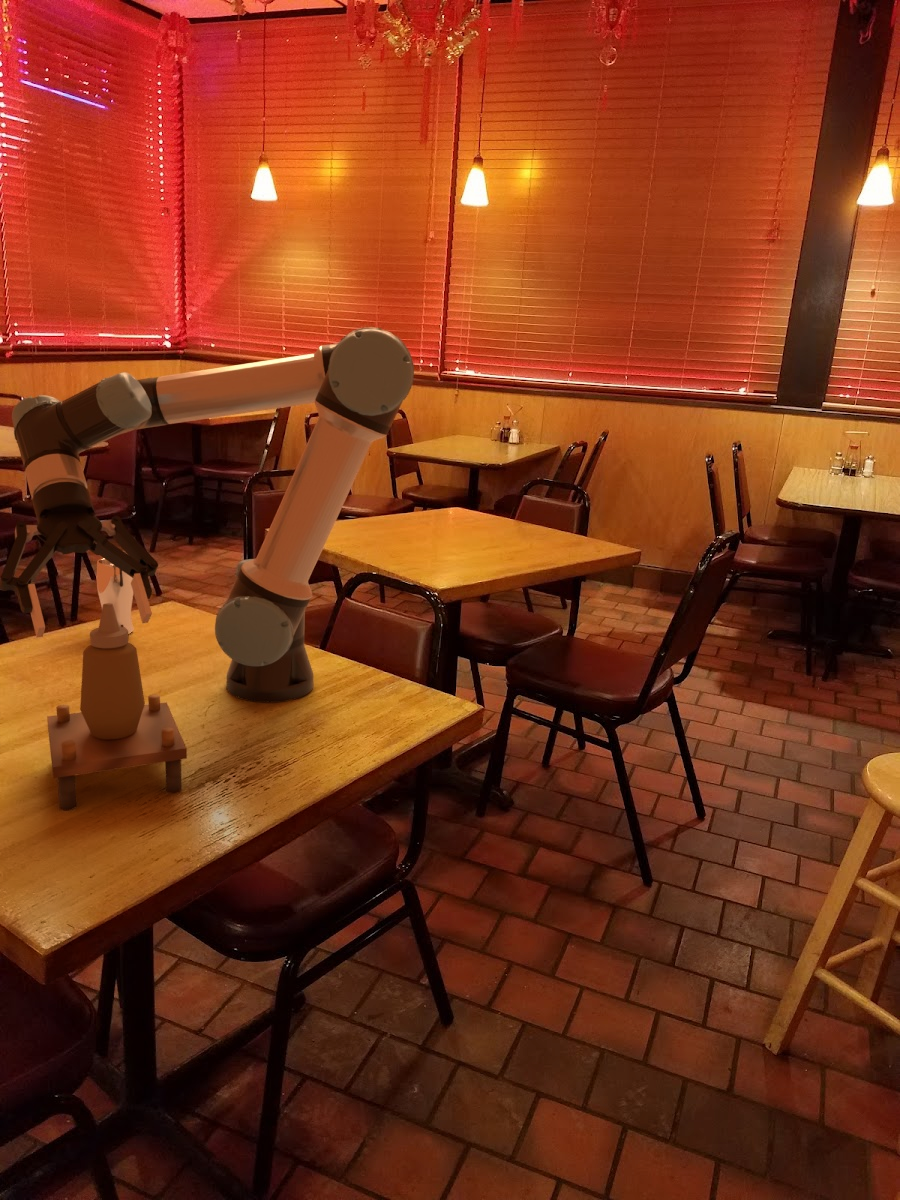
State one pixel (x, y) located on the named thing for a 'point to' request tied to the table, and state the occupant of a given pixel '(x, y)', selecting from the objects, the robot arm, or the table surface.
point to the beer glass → (115, 591)
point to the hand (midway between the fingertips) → (96, 625)
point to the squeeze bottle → (111, 681)
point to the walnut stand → (113, 748)
